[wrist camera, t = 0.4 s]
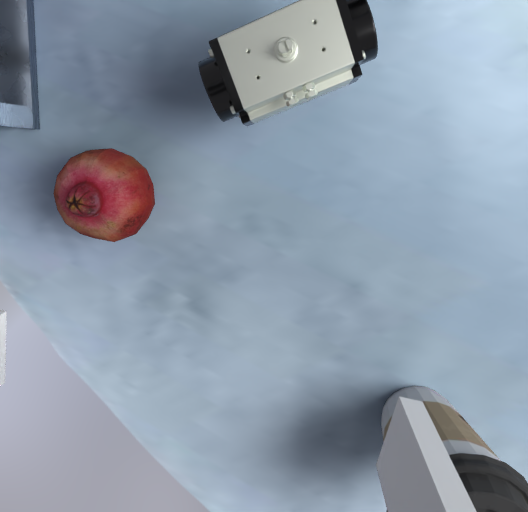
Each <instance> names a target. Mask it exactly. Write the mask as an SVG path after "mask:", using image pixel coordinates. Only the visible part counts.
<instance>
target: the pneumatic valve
mask: <svg viewBox="0 0 528 512" xmlns="http://www.w3.org/2000/svg"><path fill="white" fill-rule="evenodd" d="M209 44H210V47H211V49H209V50H208V52H209V55H210V57H209V58H207V59H205V60H203V61H200V62H199V71H200V75H201V78H202V81H203V84H204V86H205V89H206V91H207V94H208V96H209V99H210V101H211V103H212V105H213V107H214V109H215V111H216V113H217V115H218V116H219V118H220V119H221V120H222V121H223V122H225V121H227V120H229V119H232V118H234V117H237V116H239V118H241V121H242V123H243V124H244V125H246V126H249V125H252V124H254V123H257V122H259V121H262V120H264V119H266V118H269V117H271V116H274V115H276V114H279V113H281V112H283V111H286V110H288V109H291V108H293V107H296V106H298V105H300V104H303V103H305V102H308V101H310V100H313V99H315V98H317V97H320V96H322V95H325V94H327V93H330V92H332V91H334V90H337V89H339V88H342V87H344V86H347V85H349V84H351V83H354V82H356V81H357V80H358V79H359V78H360V77H361V75H362V72H361V69H360V65H361V64H363V63H366V62H368V61H371V60H373V59H375V58H376V56H377V52H378V43H377V34H376V29H375V24H374V20H373V16H372V13H371V10H370V7H369V5H368V2H367V0H299V1H297V2H295V3H292V4H290V5H288V6H286V7H284V8H281V9H279V10H277V11H275V12H273V13H270V14H268V15H266V16H264V17H262V18H259V19H257V20H255V21H253V22H251V23H248V24H246V25H244V26H242V27H240V28H237V29H235V30H233V31H231V32H229V33H226V34H224V35H222V36H220V37H218V38H216V39H213V40H211V41H209Z"/></svg>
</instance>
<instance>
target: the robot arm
mask: <svg viewBox="0 0 528 512" xmlns="http://www.w3.org/2000/svg"><path fill="white" fill-rule="evenodd" d="M6 313H7V312H6V311H4V310H0V386H2V385H3V384H4V383H5V361H6V360H5V359H6V315H7V314H6ZM376 467H377V471H378V475H379V479H380V483H381V487H382V491H383V495H384V499H385V503H386V507H387V511H388V512H477V511H476V509H475V507H474V505H473V503H472V501H471V499H470V497H469V495H468V493H467V491H466V489H465V487H464V485H463V483H462V481H461V479H460V477H459V475H458V473H457V471H456V469H455V467H454V465H453V463H452V461H451V459H450V457H449V455H448V452H447V450H446V448H445V446H444V444H443V442H442V440H441V438H440V436H439V434H438V432H437V430H436V428H435V426H434V424H433V422H432V420H431V418H430V416H429V414H428V412H427V410H426V408H425V406H424V404H423V402H422V401H418V400H413V399H409V398H404V397H399V398H398V401H397V404H396V407H395V410H394V413H393V416H392V419H391V422H390V425H389V428H388V431H387V434H386V437H385V440H384V443H383V445H382V448H381V451H380V454H379V457H378V460H377V463H376Z"/></svg>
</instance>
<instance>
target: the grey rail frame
mask: <svg viewBox="0 0 528 512" xmlns="http://www.w3.org/2000/svg"><path fill="white" fill-rule="evenodd" d="M0 126H8V127H20V128H30V129H40V124H39V105H38V85H37V65H36V45H35V25H34V5H33V0H0Z"/></svg>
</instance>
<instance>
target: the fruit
mask: <svg viewBox="0 0 528 512" xmlns="http://www.w3.org/2000/svg"><path fill="white" fill-rule="evenodd" d="M53 194H54V198H55V202H56V206H57V210H58V211H59V213H60V215H61V217H62V218H63V220H64V222H65V223H66V224H67V225H68V226H70V227H71V228H73V229H74V230H76V231H77V232H79V233H80V234H83V235H86V236H89V237H92V238H97V239H102V240H107V241H112V242H115V241H118V240H121V239H124V238H126V237H129V236H132V235H134V234H136V233H137V232H138V231H139V229H140V228H141V227H142V226H143V224H144V223H145V222H146V221H147V219H148V218H149V216H150V214H151V211H152V209H153V207H154V204H155V199H154V188H153V183H152V181H151V178H150V176H149V174H148V171H147V170H146V169H145V168H144V167H143V166H142V165H141V164H140V163H139V162H138V161H137V160H135V159H134V158H133V157H131V156H129V155H127V154H124V153H122V152H119V151H117V150H114V149H98V150H89V151H85V152H83V153H81V154H78V155H76V156H74V157H71V158H70V159H69V161H68V162H67V163H66V165H65V166H64V167H63V169H62V170H61V171H60V173H59V174H58V175H57V179H56V184H55V189H54V193H53Z"/></svg>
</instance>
